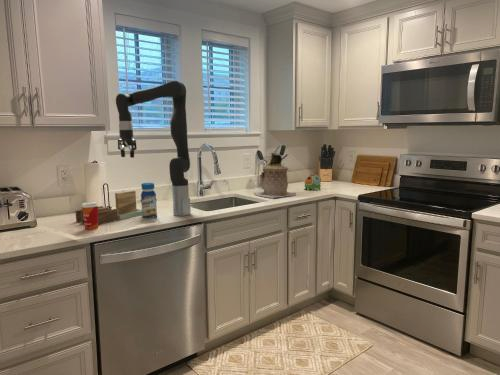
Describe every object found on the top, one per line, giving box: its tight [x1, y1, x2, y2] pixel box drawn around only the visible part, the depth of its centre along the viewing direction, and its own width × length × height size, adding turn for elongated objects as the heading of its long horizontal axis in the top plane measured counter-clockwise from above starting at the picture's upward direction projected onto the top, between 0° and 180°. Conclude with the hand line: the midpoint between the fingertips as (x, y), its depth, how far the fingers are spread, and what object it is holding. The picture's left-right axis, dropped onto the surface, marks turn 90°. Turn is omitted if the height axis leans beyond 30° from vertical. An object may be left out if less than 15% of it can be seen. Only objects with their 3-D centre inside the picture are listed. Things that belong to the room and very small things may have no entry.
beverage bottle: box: [140, 182, 158, 220], centre depth 207 cm, size 8×8×20 cm
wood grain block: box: [114, 190, 138, 215], centre depth 210 cm, size 3×11×14 cm, turn 143°
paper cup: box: [81, 201, 99, 231], centre depth 182 cm, size 8×8×14 cm
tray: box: [117, 208, 142, 221], centre depth 211 cm, size 12×16×4 cm
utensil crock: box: [252, 152, 297, 200], centre depth 277 cm, size 25×25×32 cm
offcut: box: [98, 206, 107, 212], centre depth 197 cm, size 2×10×6 cm, turn 143°
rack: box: [75, 205, 119, 225], centre depth 198 cm, size 15×15×8 cm
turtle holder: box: [304, 174, 322, 192], centre depth 303 cm, size 12×18×12 cm
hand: (127, 157), depth 219 cm, fingers open, 8 cm apart
